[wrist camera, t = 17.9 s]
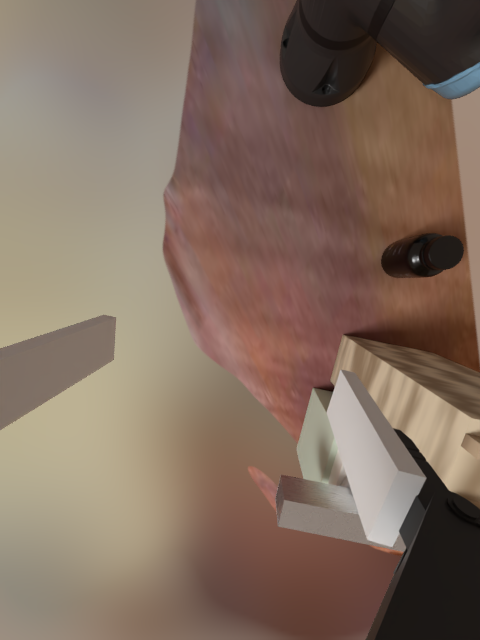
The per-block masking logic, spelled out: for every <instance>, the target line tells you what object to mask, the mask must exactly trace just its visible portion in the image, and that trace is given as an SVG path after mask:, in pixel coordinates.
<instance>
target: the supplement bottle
mask: <svg viewBox="0 0 480 640" xmlns="http://www.w3.org/2000/svg"><path fill="white" fill-rule="evenodd" d="M463 248H464V247H463V244H462V243H461V241H460V240H459V239H457V238H456V237H454V236H450V235H449V236H442V235H440V234H437V233H426V234H422V235H418V236H415V237H411V238H408V239H404V240H401V241H397V242H395V243H393V244H391V245H389V246H388V247H387V248H386V249H385V251H384V253H383V255H382V259H381V264H382V268H383V270H384V271H385V272H386V273H387V274H388V275H389V276H391V277H395V278H420V277H431V276H435V275H437V274H439V273H441V272H442V271H443V270H446V269H450V268H453V267H454V266H456V265H457V264H458V263H459V261H461V258H462V256H463V252H464V250H463Z"/></svg>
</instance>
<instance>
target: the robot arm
mask: <svg viewBox="0 0 480 640" xmlns="http://www.w3.org/2000/svg"><path fill="white" fill-rule="evenodd" d="M377 42H378V43H379V44H380V45H381V46H382V47H383V48H384V49H386V50H387V51H388V52H389V53H390V54H391V55H392V56H393V57H394V58H396V59H397V60H398V61H399V62H400V63H401V64H402V65H403V66H404V67H405V68H407V69H408V70H409V71H410V72H411V73H412V74H413V75H414V76H415V77H417V78H418V79H419V80H420V81H421V82H422V83H423V85H424V86H426V88H429V89H432V90H434V91H435V92H437V93H438V94H439V95H441V96H442V97H444V98H446V99H456V98H460V97H463V96H465V95H467V94H469V93H471V92H472V91H474V90H476V89H477V88H479V87H480V0H297V1H296V4H295V6H294V8H293V10H292V12H291V14H290V16H289V18H288V20H287V23H286V25H285V28H284V32H283V36H282V41H281V49H280V69H281V74H282V77H283V80H284V82H285V84H286V86H287V88H288V89H289V91H290V92H291V93H292V94H293V95H294V96H295V97H296V98H297V99H299V100H300V101H302V102H304V103H306V104H308V105H312V106H319V107H322V106H330V105H333V104H336V103H338V102H341V101H342V100H344V99H346V98H347V97H348V96H350V95H351V94H352V93H353V92H354V91H355V90H356V89H357V87H358V86H359V85H360V83H361V82H362V80H363V78H364V76H365V75H366V73H367V71H368V69H369V67H370V65H371V63H372V60H373V57H374V54H375V49H376V43H377ZM115 325H116V317H111V316H107V315H102V316H99V317H96V318H93V319H90V320H87V321H84V322H81V323H77V324H74V325H71V326H68V327H65V328H62V329H59V330H56V331H53V332H50V333H47V334H44V335H40V336H37V337H34V338H31V339H28V340H25V341H22V342H19V343H16V344H13V345H10V346H7V347H4V348H0V430H1V429H3V428H4V427H6V426H8V425H9V424H11V423H13V422H14V421H16V420H17V419H19V418H20V417H22V416H24V415H25V414H27V413H29V412H30V411H32V410H33V409H35V408H37V407H38V406H40V405H42V404H43V403H45V402H46V401H48V400H49V399H51V398H53V397H54V396H56V395H58V394H59V393H61V392H62V391H64V390H66V389H67V388H69V387H70V386H72V385H74V384H75V383H77V382H79V381H80V380H82V379H83V378H85V377H87V376H88V375H90V374H91V373H93V372H95V371H96V370H98V369H100V368H101V367H103V366H104V365H106V364H108V363H109V362H111V361H112V360H114V344H115ZM327 416H328V419H329V422H330V425H331V428H332V431H333V434H334V438H335V441H336V444H337V447H338V450H339V453H340V456H341V460H342V463H343V466H344V469H345V472H346V475H347V478H348V481H349V485H350V488H351V491H352V494H353V497H354V500H355V503H356V507H357V510H358V513H359V516H360V519H361V522H362V525H363V528H364V532H365V535H366V538H367V540H369V541H372V542H376V543H379V544H383V545H386V546H390V547H393V545H394V543H395V541H396V539H397V537H398V535H399V533H400V535H401V537H402V539H403V542H404V544H405V546H406V549H405V551H404V553H403V555H402V557H401V559H400V561H399V563H398V565H397V567H396V569H395V571H394V576H393V578H392V580H391V583H390V585H389V588H388V590H387V592H386V594H385V596H384V599H383V601H382V603H381V606H380V608H379V611H378V613H377V615H376V617H375V619H374V622H373V624H372V626H371V629H370V631H369V633H368V636H367V638H366V640H480V509H479V508H478V507H477V506H475V505H474V504H473V503H471V502H470V501H468V500H467V499H466V498H464V497H462V496H460V495H458V494H456V493H454V492H451V491H449V490H448V488H447V487H446V486H445V484H444V483H443V482H442V480H441V479H440V478H439V476H438V475H437V473H436V472H435V471H434V469H433V468H432V467H431V465H430V464H429V463H428V462H427V461H426V459H425V457H424V456H423V455H422V453H420V452H419V451H420V450H419V449H418V448H417V446H416V445H415V444H414V442H413V441H412V440H411V439H410V438H409V437H408V436H406V435H405V434H404V433H403V432H402V431H401V430H398V429H394V428H392V426H391V425H390V423H389V422H388V421H387V419H386V418H385V416H384V415H383V413H382V412H381V410H380V409H379V407H378V406H377V404H376V403H375V401H374V400H373V398H372V397H371V396H370V394H369V393H368V391H367V390H366V388H365V387H364V385H363V384H362V382H361V381H360V379H359V378H358V376H357V375H356V373H354V372H350V371H346V370H340V373H339V376H338V379H337V382H336V385H335V388H334V391H333V394H332V397H331V400H330V403H329V407H328V410H327Z"/></svg>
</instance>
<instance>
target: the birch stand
mask: <svg viewBox="0 0 480 640" xmlns="http://www.w3.org/2000/svg"><path fill="white" fill-rule="evenodd" d="M340 370H346V371H350V372H354V373H356V375H357V376H358V378H359V379H360V381H361V382H362V384H363V385H364V387H365V388H366V390H367V391H368V393H369V394H370V396H371V397H372V398H373V400H374V401H375V403H376V404H377V406H378V407H379V409H380V410H381V412H382V413H383V415H384V416H385V418H386V419H387V421H388V422H389V423H390V425H391V426H392V428H394V429H398V430H401V431H402V432H403V433H404V434H405V435H406V436H408V437H409V438H410V439H411V440H412V441H413V442H414V444H415V445H416V446H417V448H418V449H419V450H420V451H419V452H420V453H422V455H423V456H424V457H425V459H426V461H427V462H428V463H429V464H430V465H431V467H432V468H433V469H434V471H435V472H436V473H437V475H438V476H439V478H440V479H441V480H442V482H443V483H444V484H445V486H446V487H447V488H448V490H449V491H451V492H454V493H456V494H458V495H460V496H462V497H464V498H466V499H467V500H468V501H470V502H471V503H473V504H474V505H475V506H477V507H478V508H479V509H480V373H479V372H477V371H474V370H472V369H470V368H467V367H465V366H463V365H460V364H458V363H456V362H453V361H451V360H448V359H446V358H444V357H441V356H439V355H437V354H434V353H432V352H427V351H422V350H417V349H412V348H407V347H402V346H397V345H392V344H387V343H382V342H377V341H372V340H367V339H362V338H357V337H352V336H347V335H343V336H342V340H341V343H340V347H339V351H338V354H337V358H336V361H335V365H334V369H333V372H332V376H331V379H330V381H331V382H332V383H333V385H334V386H335V385H336V382H337V379H338V376H339V373H340Z"/></svg>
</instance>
